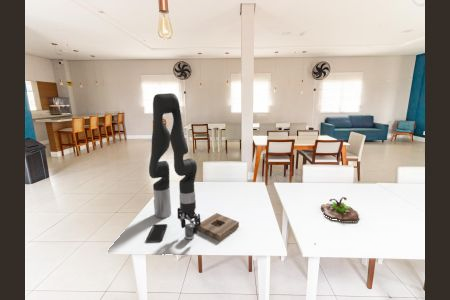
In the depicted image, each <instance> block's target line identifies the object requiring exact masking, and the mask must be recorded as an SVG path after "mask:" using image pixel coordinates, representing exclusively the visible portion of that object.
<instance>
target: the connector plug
mask: <svg viewBox="0 0 450 300" xmlns="http://www.w3.org/2000/svg"><path fill="white" fill-rule="evenodd" d="M184 236H185V237H184V238H185V240H187V241H192V240H194V238H195V234H193V226H192V224H191V223H190V222H189V223H186V225H185V227H184Z"/></svg>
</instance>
